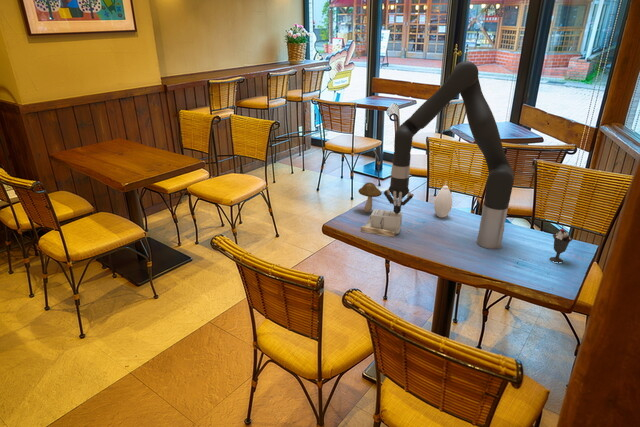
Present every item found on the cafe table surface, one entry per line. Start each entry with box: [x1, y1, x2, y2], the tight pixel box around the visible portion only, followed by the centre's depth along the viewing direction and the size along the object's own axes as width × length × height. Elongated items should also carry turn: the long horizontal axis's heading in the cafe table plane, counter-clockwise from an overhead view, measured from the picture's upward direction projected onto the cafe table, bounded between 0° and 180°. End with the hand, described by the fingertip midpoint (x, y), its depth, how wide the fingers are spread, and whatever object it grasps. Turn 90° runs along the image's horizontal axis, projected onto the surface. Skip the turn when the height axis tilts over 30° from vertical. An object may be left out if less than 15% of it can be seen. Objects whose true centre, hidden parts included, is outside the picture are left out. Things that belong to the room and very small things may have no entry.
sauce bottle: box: [433, 180, 453, 219], centre depth 199 cm, size 8×8×18 cm
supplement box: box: [370, 208, 403, 234], centre depth 188 cm, size 7×7×13 cm
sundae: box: [549, 223, 574, 263], centre depth 163 cm, size 7×7×15 cm
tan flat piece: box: [360, 214, 403, 238], centre depth 191 cm, size 14×14×2 cm
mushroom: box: [358, 182, 383, 213], centre depth 204 cm, size 9×11×15 cm
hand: (396, 213), depth 185 cm, fingers closed
